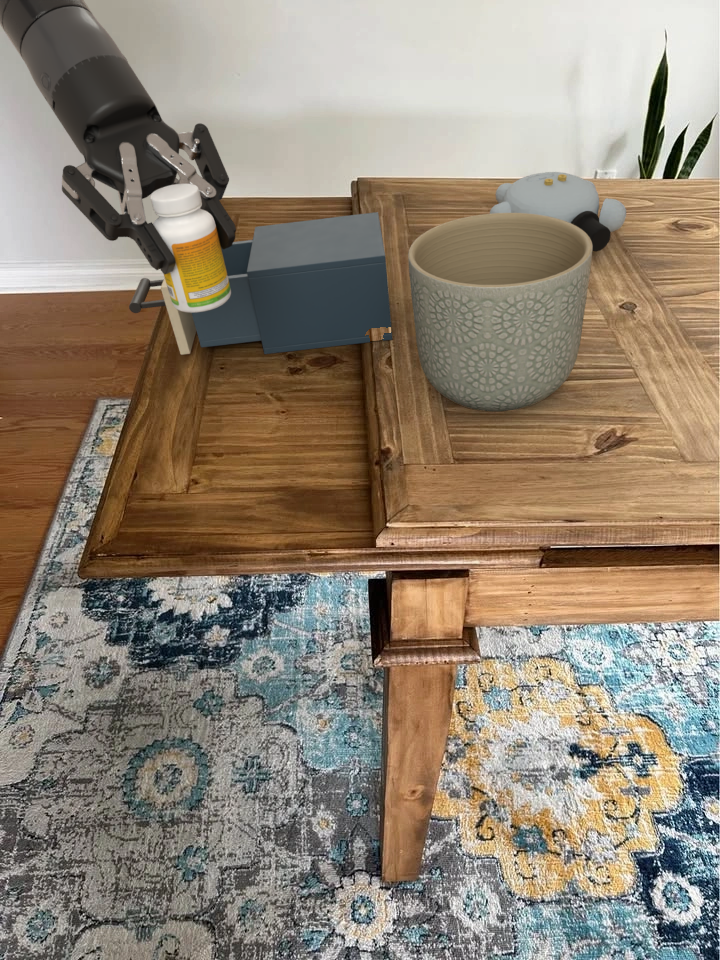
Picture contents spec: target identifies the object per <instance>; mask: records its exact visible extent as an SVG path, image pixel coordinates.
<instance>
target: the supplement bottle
mask: <svg viewBox="0 0 720 960" xmlns="http://www.w3.org/2000/svg"><path fill="white" fill-rule="evenodd" d="M149 196H150V202H151V206H152V210H153V211H154V214H155V215H156V216H157V218H156V219H155V220H154V221H153V222H152V224H153V225H154V227H155V228H156V230H157V231H158V233H159V234H160V236H161V237H162V239H163V240H164V242H165V243H166V245H167V247H168V248H169V250H170V251H171V253H172V254H173V256H174V258H175V261H176V264H175V267H174V269H173V271H172V272H170V273H167V274H163V278H165V281H166V284H167V288H168V291H169V295H170V298H171V301H172V304H173V306H174V307H175V308H176V309H178V310H179V311H182V312H190V313H195V312H203V311H208V310H212V309H215V308H217V307H219V306H221V305H223V304H224V303H225V302H226V301H227V300H228V299H229V298H230V295H231V289H230V284H229V280H228V276H227V271H226V267H225V263H224V259H223V254H222V250H221V246H220V242H219V237H218V233H217V228H216V224H215V221H214V218H213V217H212V215H211V214H210V213H209V212H207V211H205V210H202V209H200V207H201V206H202V200H201V196H200V192H199V189H198V187H197V186H196V185H193V184H175V185H170V186H166V187H163V188H160V189H158V190H156V191H154V192H153V193H152V194H150V195H149Z"/></svg>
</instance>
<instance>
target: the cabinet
mask: <svg viewBox="0 0 720 960" xmlns="http://www.w3.org/2000/svg"><path fill="white" fill-rule="evenodd" d="M252 240H253V241H252V247H251V252H250V257H249V263H248V268H247V276H248V280H249V285H250V290H251V294H252V299H253V303H254V308H255V313H256V317H257V322H258V327H259V331H260V336H261V340H262V341H261V345H262V349H263V354H264V355H271V354H280V353H286V352H297V351H307V350H313V349H323V348H331V347H332V348H333V347H340V346H348V345H358V344H366V343H371V342H370V338H369V335H366V336H365V334H366V332H367V331H368V330H369V329H371V328H380V327H386V328H388V327H393V326H392V315H391V303H390V293H389V283H388V282H389V281H388V270H387V260H386V259H387V258H386V252H385V245H384V238H383V232H382V228H381V221H380V215H379V211H377V212H374V211H373V212H367V213H359V214H351V215H343V216H342V215H341V216H334V217H325V218H318V219H310V220H301V221H292V222H283V223H276V224H269V225H268V224H267V225H259V226H255V227H254V230H253V236H252ZM383 338H384V339H382V340H383V341H382V342H385V341H392V340H393V331H392V332H391V333H384V335H383Z"/></svg>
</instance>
